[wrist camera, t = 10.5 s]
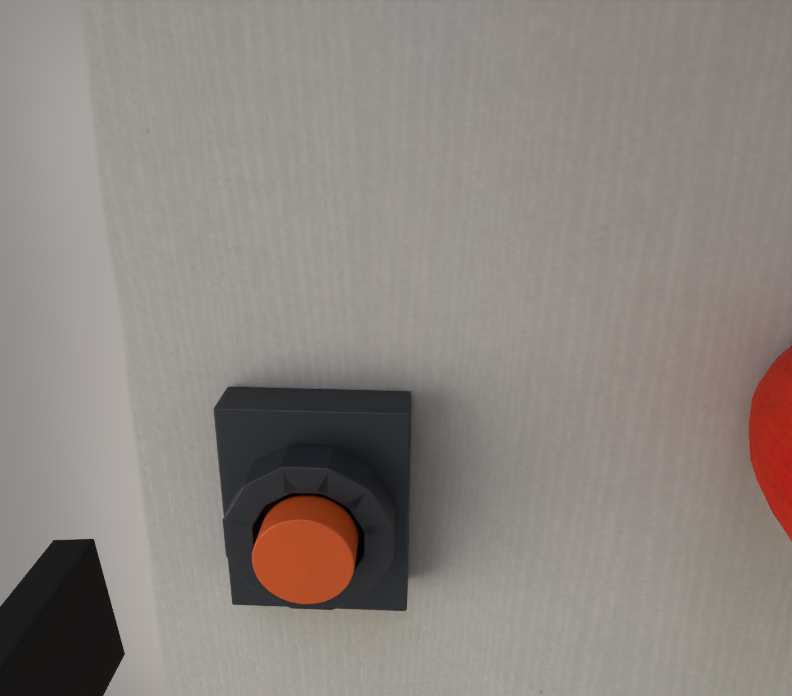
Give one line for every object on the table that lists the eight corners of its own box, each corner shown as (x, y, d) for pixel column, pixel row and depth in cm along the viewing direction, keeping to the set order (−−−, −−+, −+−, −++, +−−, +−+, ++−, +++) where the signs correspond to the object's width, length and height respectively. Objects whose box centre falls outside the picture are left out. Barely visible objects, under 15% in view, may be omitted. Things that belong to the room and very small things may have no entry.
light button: (258, 492, 28) (247, 518, 26) (357, 495, 28) (353, 521, 26) (264, 573, 29) (254, 603, 28) (359, 577, 29) (354, 606, 28)
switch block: (227, 386, 30) (199, 429, 26) (411, 390, 30) (408, 435, 26) (243, 573, 34) (221, 634, 30) (407, 579, 34) (405, 641, 30)
